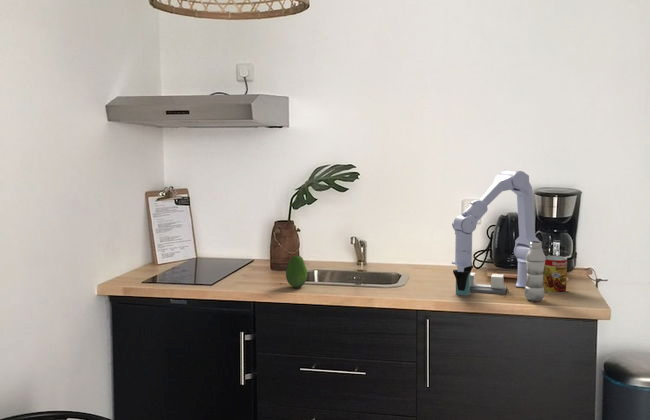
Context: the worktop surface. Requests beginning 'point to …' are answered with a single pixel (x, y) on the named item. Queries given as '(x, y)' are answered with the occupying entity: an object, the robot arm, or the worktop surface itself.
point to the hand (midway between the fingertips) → (463, 287)
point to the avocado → (296, 272)
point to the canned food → (555, 274)
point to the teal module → (467, 288)
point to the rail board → (495, 286)
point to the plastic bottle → (535, 272)
